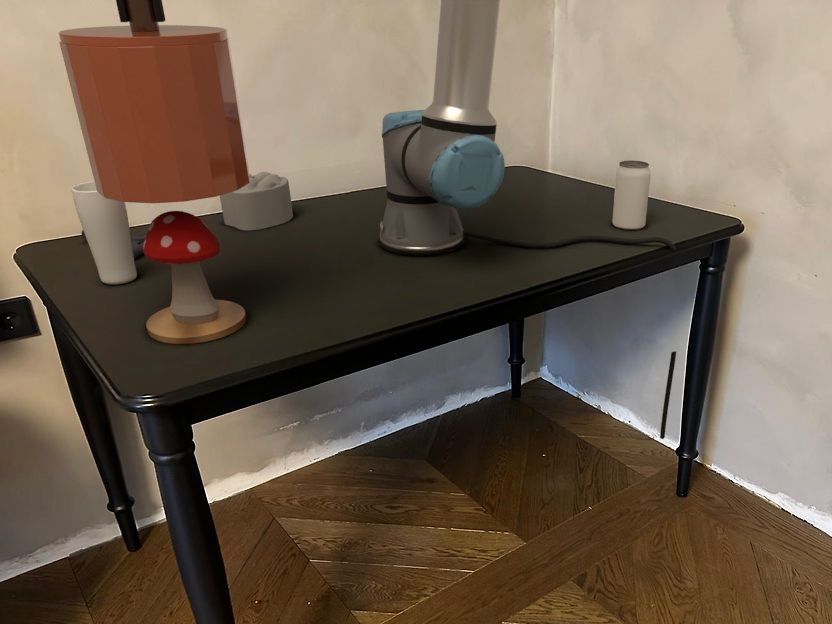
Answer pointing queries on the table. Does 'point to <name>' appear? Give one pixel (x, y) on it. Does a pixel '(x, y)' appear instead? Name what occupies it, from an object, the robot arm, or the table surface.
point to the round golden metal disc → (196, 325)
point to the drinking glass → (106, 233)
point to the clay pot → (157, 108)
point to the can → (631, 195)
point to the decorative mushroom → (184, 263)
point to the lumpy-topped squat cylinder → (258, 203)
